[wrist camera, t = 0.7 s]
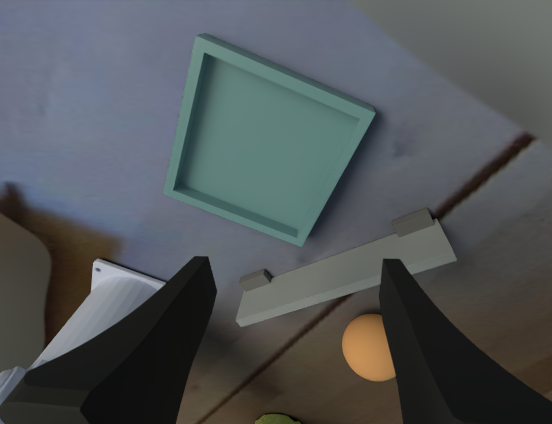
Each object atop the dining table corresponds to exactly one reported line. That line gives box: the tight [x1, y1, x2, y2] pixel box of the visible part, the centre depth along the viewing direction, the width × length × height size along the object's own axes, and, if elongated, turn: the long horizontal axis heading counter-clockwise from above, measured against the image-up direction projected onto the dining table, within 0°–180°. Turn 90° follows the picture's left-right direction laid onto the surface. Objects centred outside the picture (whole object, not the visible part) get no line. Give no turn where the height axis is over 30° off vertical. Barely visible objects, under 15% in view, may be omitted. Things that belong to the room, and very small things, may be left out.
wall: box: [236, 208, 457, 327], centre depth 24 cm, size 16×3×4 cm, turn 121°
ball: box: [342, 314, 396, 381], centre depth 26 cm, size 5×5×5 cm
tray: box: [163, 33, 376, 247], centre depth 21 cm, size 10×10×2 cm
